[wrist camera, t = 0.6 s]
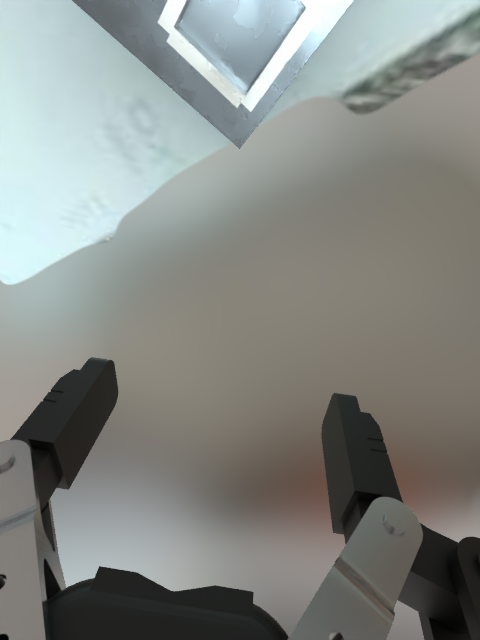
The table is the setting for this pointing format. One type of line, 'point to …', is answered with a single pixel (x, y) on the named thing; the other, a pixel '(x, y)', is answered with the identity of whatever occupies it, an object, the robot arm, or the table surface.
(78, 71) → the table surface
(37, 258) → the table surface
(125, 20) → the grey control panel
